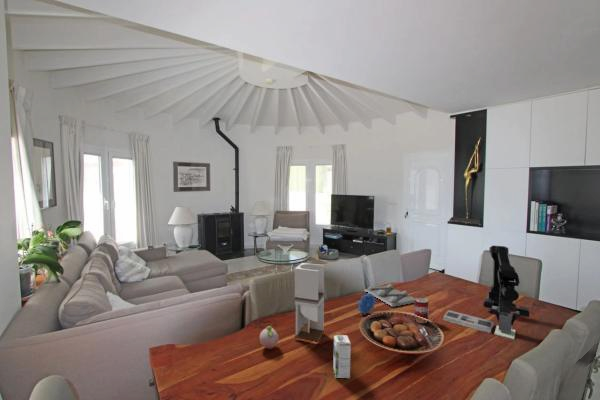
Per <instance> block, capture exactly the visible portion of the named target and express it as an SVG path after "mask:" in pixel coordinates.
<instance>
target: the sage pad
mask: <svg viewBox="0 0 600 400" xmlns="http://www.w3.org/2000/svg"><path fill="white" fill-rule="evenodd" d="M493 335H495V336H500V337H501V338H506V339H509V340H513V341H514V340H515V337H516V329H513V328H512V330H511V333H507V332H503V331H500V330H499V324H498V325H496V327H495V331H494V333H493Z"/></svg>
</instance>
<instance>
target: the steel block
mask: <svg viewBox="0 0 600 400" xmlns="http://www.w3.org/2000/svg"><path fill="white" fill-rule="evenodd" d="M512 318H513V313H511V314H507V313H504V312H500V314H499V322H498V326H499V330H500V331H503V332H507V333H511V330H512V329H513V328H512V327H513V325H512V326H511V323H512Z"/></svg>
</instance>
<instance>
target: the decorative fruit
mask: <svg viewBox="0 0 600 400" xmlns="http://www.w3.org/2000/svg"><path fill="white" fill-rule="evenodd" d="M279 340H280V339H279V334H278V332H277V331H276V330H275V329H274V328H273V326H271V325H268V326H266V327H265V328H264V329H262V331H260V333H259V342H260V345H261V346H263V347H264V348H265V349H269V350H270V349H273V348H274V347H276V346H277V344H278V343H279Z"/></svg>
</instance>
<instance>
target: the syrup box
mask: <svg viewBox="0 0 600 400" xmlns="http://www.w3.org/2000/svg"><path fill="white" fill-rule="evenodd" d="M351 345H352V344H351V340H350V339H349V336H348V335H344V334H338V335H333V356H332V357H333V361H332V362H333V363H332V364H333V365H332V370H334V371H333V375H334V374H335V375H334V378H335V379H336V378H347V379H351V350H352V349H351V348H352V347H351Z"/></svg>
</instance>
